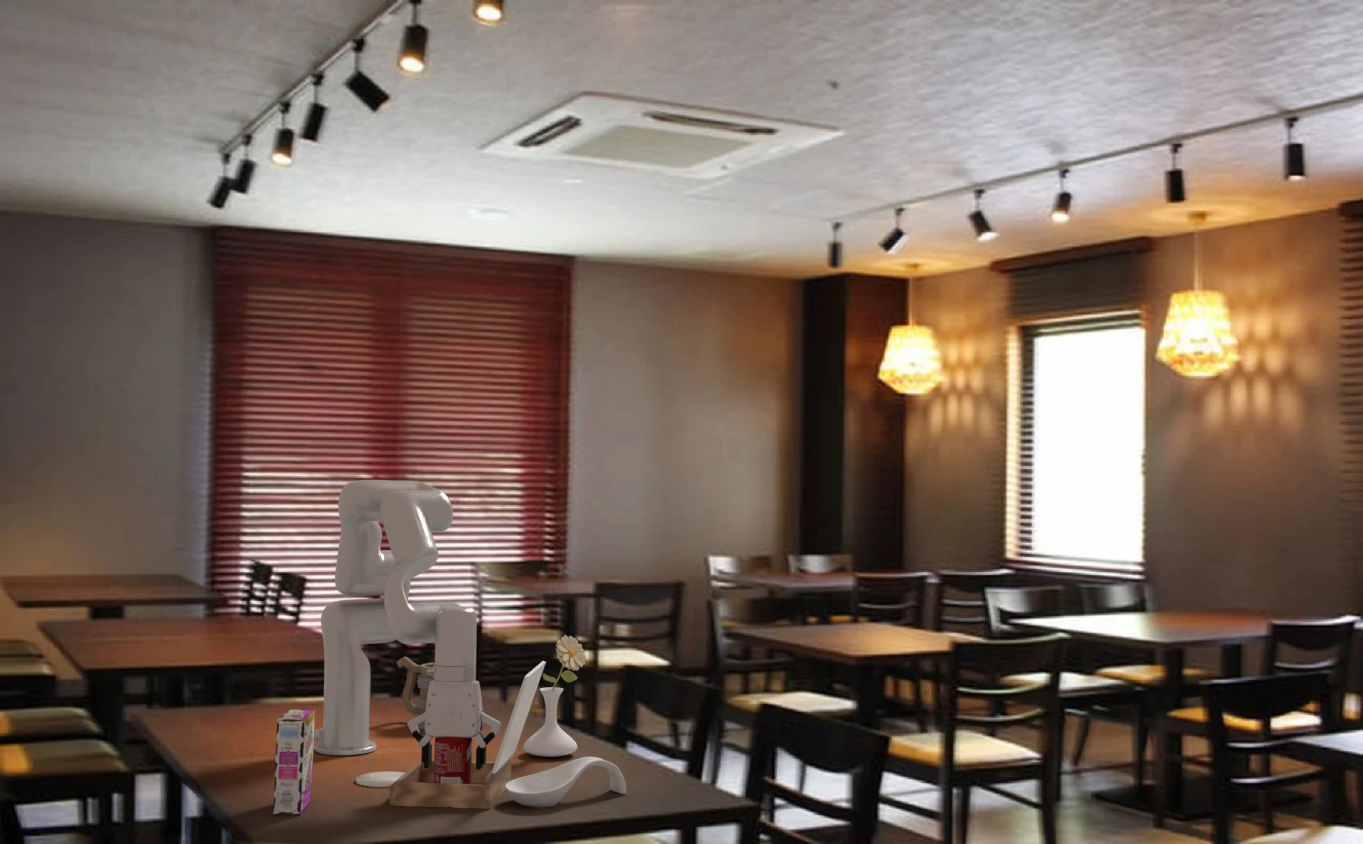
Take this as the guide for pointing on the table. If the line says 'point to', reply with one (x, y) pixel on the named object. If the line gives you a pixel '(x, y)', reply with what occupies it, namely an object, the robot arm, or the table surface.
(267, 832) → the table surface
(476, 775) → the open wooden box
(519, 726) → the lid
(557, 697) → the flower in vase
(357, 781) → the disc
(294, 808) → the candy bar box
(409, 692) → the tankard
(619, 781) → the spoon rest
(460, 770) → the soda can
